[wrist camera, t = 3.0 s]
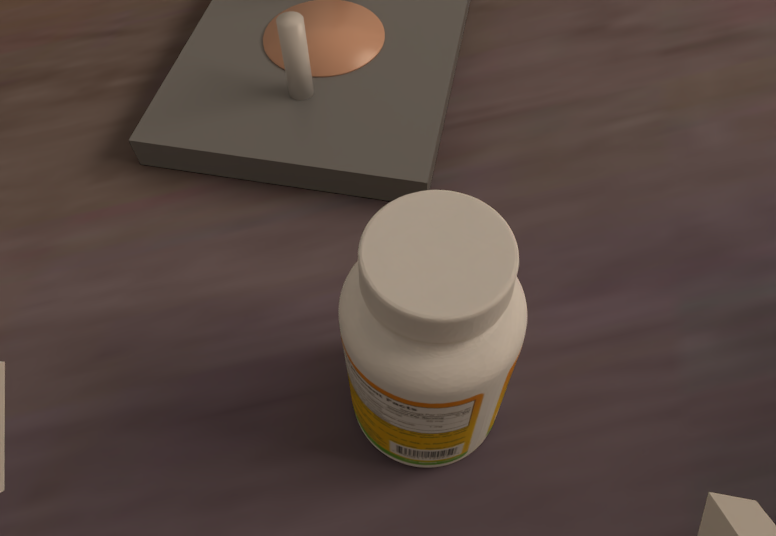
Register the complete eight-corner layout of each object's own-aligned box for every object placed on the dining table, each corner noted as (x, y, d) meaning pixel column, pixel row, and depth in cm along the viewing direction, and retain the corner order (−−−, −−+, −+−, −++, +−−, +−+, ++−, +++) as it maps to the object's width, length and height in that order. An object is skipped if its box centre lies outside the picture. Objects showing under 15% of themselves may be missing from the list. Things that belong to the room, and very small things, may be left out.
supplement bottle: (431, 310, 25) (446, 137, 17) (526, 408, 23) (596, 260, 15) (323, 388, 24) (285, 236, 16) (416, 503, 21) (427, 395, 13)
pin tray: (474, -19, 38) (485, -116, 33) (426, 206, 28) (431, 113, 24) (256, -41, 40) (237, -137, 35) (140, 164, 30) (93, 69, 25)
